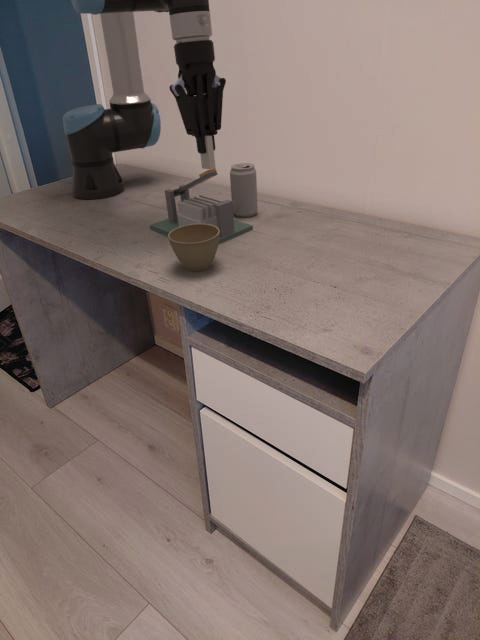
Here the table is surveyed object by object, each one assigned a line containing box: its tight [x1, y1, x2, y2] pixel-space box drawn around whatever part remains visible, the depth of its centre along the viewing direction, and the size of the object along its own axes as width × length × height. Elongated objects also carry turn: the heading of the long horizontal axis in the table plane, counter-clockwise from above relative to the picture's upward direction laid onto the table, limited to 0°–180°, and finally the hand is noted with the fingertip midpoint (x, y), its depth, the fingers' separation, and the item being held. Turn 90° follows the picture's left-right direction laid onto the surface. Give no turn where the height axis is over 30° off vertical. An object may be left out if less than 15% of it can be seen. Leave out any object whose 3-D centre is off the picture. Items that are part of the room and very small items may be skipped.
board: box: [149, 184, 254, 245], centre depth 110 cm, size 20×15×8 cm
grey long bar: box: [172, 168, 218, 198], centre depth 107 cm, size 16×3×2 cm, turn 44°
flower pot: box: [167, 223, 220, 272], centre depth 93 cm, size 10×10×7 cm
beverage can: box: [229, 162, 259, 218], centre depth 116 cm, size 6×6×12 cm
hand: (208, 168), depth 101 cm, fingers closed
